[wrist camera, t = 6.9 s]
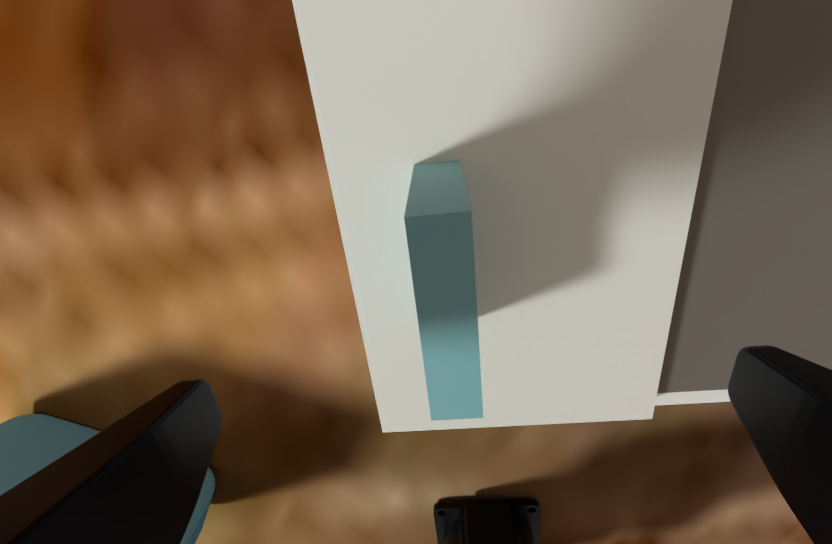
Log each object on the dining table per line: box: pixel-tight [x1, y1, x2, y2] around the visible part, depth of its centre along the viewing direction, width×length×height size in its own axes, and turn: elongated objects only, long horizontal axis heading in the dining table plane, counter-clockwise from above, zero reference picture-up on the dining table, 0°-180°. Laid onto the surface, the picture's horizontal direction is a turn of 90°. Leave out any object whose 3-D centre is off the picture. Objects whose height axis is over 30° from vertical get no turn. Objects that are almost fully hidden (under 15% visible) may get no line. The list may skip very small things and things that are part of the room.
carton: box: [655, 0, 832, 405], centre depth 15 cm, size 15×20×5 cm
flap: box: [292, 0, 733, 432], centre depth 10 cm, size 14×10×4 cm, turn 7°
